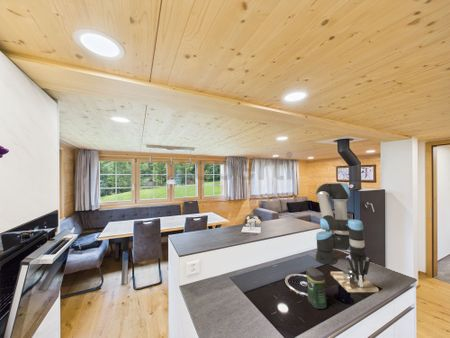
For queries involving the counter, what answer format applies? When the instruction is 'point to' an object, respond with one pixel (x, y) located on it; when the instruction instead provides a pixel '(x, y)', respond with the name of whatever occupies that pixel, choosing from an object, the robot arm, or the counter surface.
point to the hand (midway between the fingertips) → (360, 285)
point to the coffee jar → (316, 288)
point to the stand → (346, 284)
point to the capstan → (350, 277)
